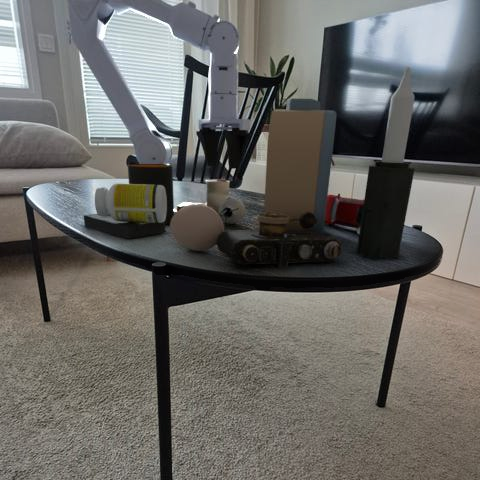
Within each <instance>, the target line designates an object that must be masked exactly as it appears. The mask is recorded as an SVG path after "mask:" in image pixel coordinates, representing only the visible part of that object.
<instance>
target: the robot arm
mask: <svg viewBox="0 0 480 480" xmlns="http://www.w3.org/2000/svg"><path fill="white" fill-rule="evenodd" d="M65 1H66V4H67V8H68V14H69V15H68V17H69V24H70V33H71V40H72V42H73V43H74V45H75V47H76V48H77V51H78V52H79V53H80V55H81V57H82V58H83V60H84V61H85V63H86V64H87V67H88V68H89V69H90V71H91V73H92V74H93V77H95V79H96V81H97V83H98V84H99V86H100V88H101V89H102V90H103V93H104V94H105V96H106V97H107V99H108V101H109V102H110V104H111V105H112V107H113V109H114V110H115V111H116V113H117V115H118V117H119V119H120V120H121V122H122V124H123V125H124V126H125V128H126V130H127V134H128V138H129V140H130V142H131V143H132V145H133V147H134V154H135V158H136V160H137V162H138V164H163V165H170V162H171V160H172V157H173V147H172V144H171V142H170V141H169V140H168V139H167V138H165V136H162V134H161V133H160V132H159V131H158V129H157V127H156V126H155V125H154V124H153V122H152V121H151V119H150V118H149V117H148V115H147V114H146V112H145V111H144V109H143V107H142V105H141V103H140V102H139V101H138V98H137V96H136V95H135V94H134V92H133V90H132V88H131V87H130V85H129V83H128V82H127V80H126V78H125V76H124V75H123V73H122V71H121V70H120V68H119V66H118V65H117V63H116V62H115V60H114V58H113V56H112V54H111V53H110V51H109V50H108V48H107V46H106V44H105V42H104V38H105V33H106V28H107V27H108V24H109V23H110V21H111V19H112V18H113V16H114V14H115V12H116V14H117V15H122V14H123V13H125V12H127V11H129V10H130V11H133V12H134V13H137V14H140V15H142V16H145V17H146V18H148V19H152V20H154V21H156V22H158V23H161V24H163V25H165V26H168V27H169V30H170V32H171V35H172V36H173V38H176V39H177V40H180V41H182V42H184V43H186V44H189V45H190V46H193V47H195V48H197V49H199V50H200V51H203V52H204V51H209V52H210V56H209V57H210V58H209V60H210V65H209V68H208V118H201V119H199V118H198V122H197V123H198V124H197V125H198V126H197V127H198V130H197V131H196V132H195V133H196V136H197V139H198V141H199V143H200V145H201V147H202V151H203V154H204V159H205V163H206V166H207V167H217V163H218V156H219V155H218V154H219V153H218V152H219V145H220V141H221V137H222V134H223V135H224V138H225V141H226V142H225V143H226V148H227V162H228V169H231V170H234V169H240V164H241V161H242V157H243V154H244V150H245V149H246V146H247V144H248V142H249V140H250V138H251V136H252V133H251V132H248V131H251V119H250V118H249V119H247V118H238V97H239V91H238V90H239V68H238V64H239V58H238V52H239V47H240V42H241V40H240V36H239V32H238V29H237V28H236V26H235V25H234V24H233V23H232V22H230V21H228V20H220V19H221V17H220V15H218V14H214V16H212V15H210V14H208V13H206V12H205V11H202V10H200V9H198V8H197V4H196V3H194V2H193V1H191V0H189V1H188V3H185V2H183V1H182V2H179V3H176V4H175V5H171V4H169V3H167V2H166V1H164V0H65ZM221 125H225V126H221ZM176 212H177V208H174V214H175V213H176Z"/></svg>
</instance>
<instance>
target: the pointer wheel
mask: <svg viewBox="0 0 480 480" xmlns="http://www.w3.org/2000/svg"><path fill="white" fill-rule="evenodd" d="M228 198H230V180H229V179H220V178H217V179H206V180H205V203H206V206H209V207H220V206H221V204H222V203H223V202H224V200H226V199H228Z"/></svg>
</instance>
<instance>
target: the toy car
mask: <svg viewBox="0 0 480 480" xmlns="http://www.w3.org/2000/svg"><path fill="white" fill-rule="evenodd" d="M363 205H364V198H363V199H358V198H350V197H342V196H341V193H337V195H335V194H328V196H327V205H326V214H325V223H324V224H329V225H331V227H332V228H334V227H335V225H338V226H342V227H343V226H344V227H348V228H354V229H357V228H358V227H360V226H361V219H362V212H363Z"/></svg>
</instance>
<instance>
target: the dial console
mask: <svg viewBox="0 0 480 480" xmlns="http://www.w3.org/2000/svg"><path fill="white" fill-rule="evenodd" d="M195 204H199V205H205V206H206V202H187V201H183V202H181V203H180V204H177V206H176V209H177V211H179V210H180V209H181V208H183V207H185V206H188V205H195ZM208 207H209V206H208ZM210 208H212V209H213V210H215V211H216V212H217V213H218V214H220V213H219V209H220V207H210ZM219 216H220V215H219ZM221 219H222V218H221ZM222 222H224V221H223V220H222Z"/></svg>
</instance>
